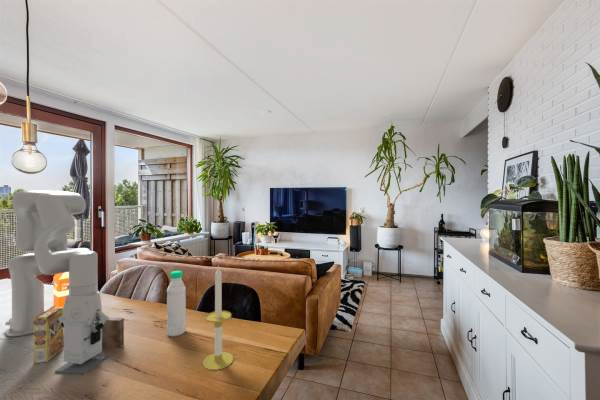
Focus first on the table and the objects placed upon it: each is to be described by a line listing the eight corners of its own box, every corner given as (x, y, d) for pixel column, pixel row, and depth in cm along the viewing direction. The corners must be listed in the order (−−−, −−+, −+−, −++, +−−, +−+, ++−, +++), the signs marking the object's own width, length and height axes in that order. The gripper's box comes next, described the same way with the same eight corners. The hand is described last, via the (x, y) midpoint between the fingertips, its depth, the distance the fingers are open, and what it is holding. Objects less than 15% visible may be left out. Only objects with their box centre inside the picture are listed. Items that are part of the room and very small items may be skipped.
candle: (222, 349, 98) (222, 260, 98) (239, 360, 92) (239, 264, 92) (196, 362, 91) (196, 265, 90) (213, 374, 84) (213, 270, 84)
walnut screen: (78, 346, 100) (78, 319, 100) (83, 343, 102) (83, 316, 102) (119, 347, 99) (119, 320, 99) (123, 344, 101) (123, 318, 101)
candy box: (48, 362, 91) (48, 316, 91) (32, 363, 90) (32, 317, 90) (64, 348, 99) (64, 306, 99) (50, 349, 98) (50, 307, 98)
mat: (54, 372, 85) (54, 370, 85) (82, 354, 95) (82, 352, 95) (85, 373, 84) (85, 372, 84) (109, 355, 94) (109, 353, 94)
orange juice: (72, 300, 145) (72, 263, 145) (77, 304, 140) (77, 265, 140) (52, 305, 139) (52, 266, 139) (57, 309, 134) (57, 269, 134)
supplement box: (81, 364, 85) (81, 324, 85) (62, 361, 87) (62, 322, 87) (103, 351, 93) (103, 314, 93) (85, 349, 94) (85, 313, 94)
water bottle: (189, 330, 112) (189, 270, 112) (175, 338, 106) (175, 274, 106) (177, 327, 115) (177, 268, 115) (162, 334, 109) (162, 272, 109)
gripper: (47, 292, 86) (47, 347, 87) (99, 293, 85) (99, 349, 86) (68, 285, 94) (68, 335, 94) (117, 286, 93) (117, 337, 93)
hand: (83, 341), depth 90 cm, fingers closed on supplement box, 7 cm apart
